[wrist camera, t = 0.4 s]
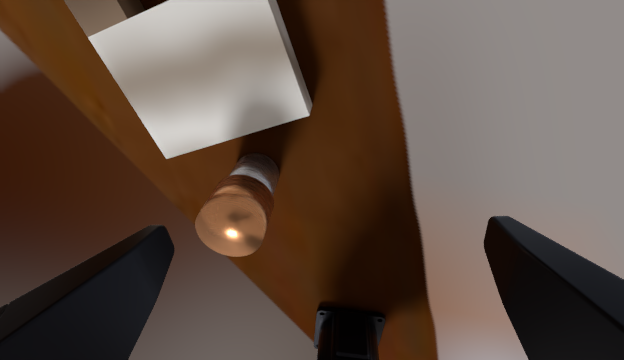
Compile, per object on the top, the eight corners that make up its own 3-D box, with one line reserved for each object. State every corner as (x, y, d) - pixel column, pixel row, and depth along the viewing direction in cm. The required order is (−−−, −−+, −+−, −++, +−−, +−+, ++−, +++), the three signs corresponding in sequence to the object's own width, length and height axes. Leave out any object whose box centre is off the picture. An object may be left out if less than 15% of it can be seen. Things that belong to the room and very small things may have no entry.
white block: (312, 104, 20) (309, 115, 18) (179, 145, 22) (166, 158, 20) (203, -209, 13) (181, -239, 11) (31, -100, 15) (-8, -111, 14)
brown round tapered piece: (283, 196, 23) (264, 259, 18) (234, 191, 24) (200, 252, 18) (283, 151, 21) (262, 207, 16) (229, 146, 22) (190, 200, 16)
